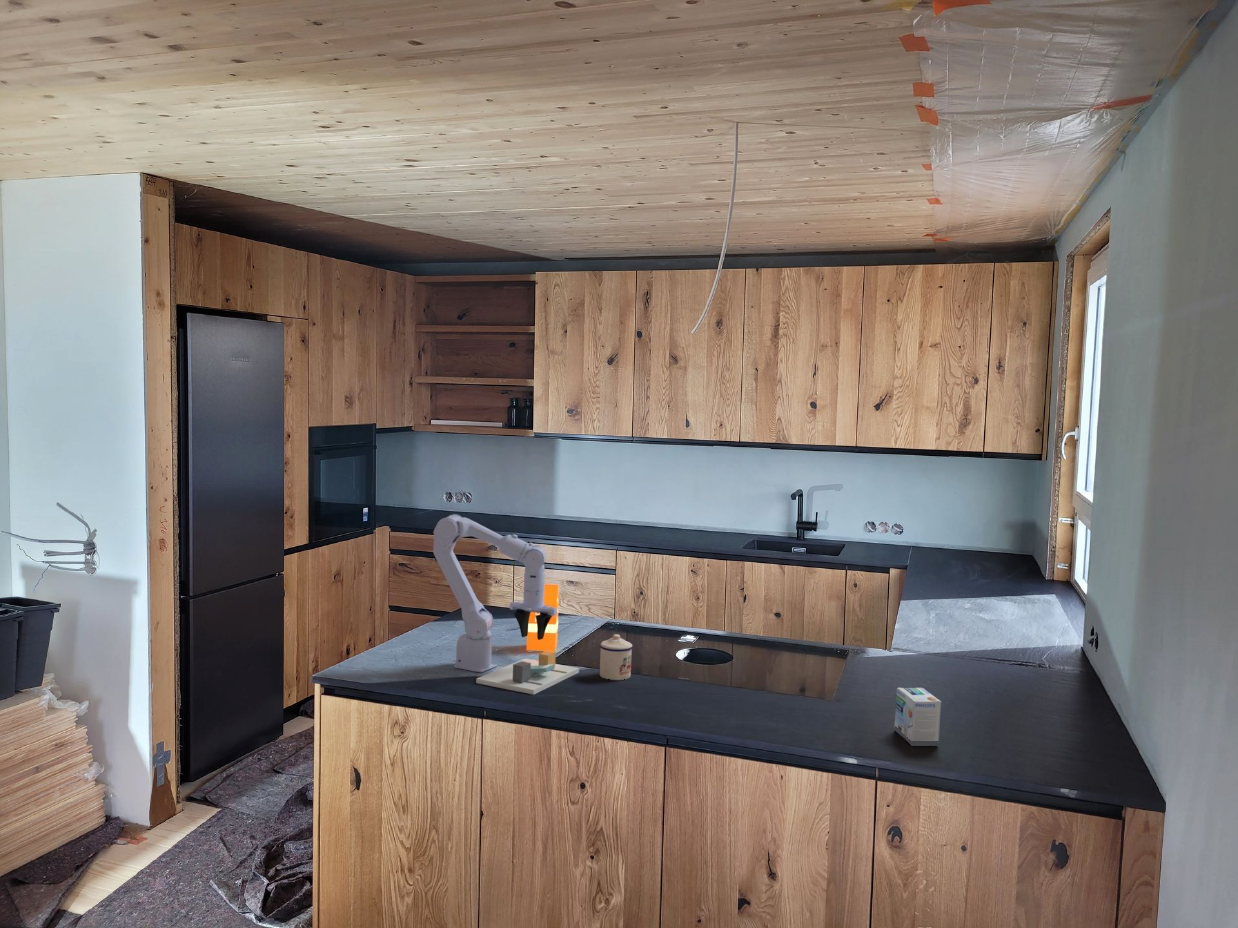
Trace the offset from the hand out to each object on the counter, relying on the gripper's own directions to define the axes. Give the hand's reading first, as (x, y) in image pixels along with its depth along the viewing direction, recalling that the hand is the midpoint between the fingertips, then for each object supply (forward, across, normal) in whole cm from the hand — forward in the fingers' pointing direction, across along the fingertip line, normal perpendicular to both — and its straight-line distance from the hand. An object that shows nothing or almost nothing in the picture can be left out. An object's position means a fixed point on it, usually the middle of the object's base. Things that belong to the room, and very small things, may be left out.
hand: (532, 637), depth 258 cm
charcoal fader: (+8, +5, -13) cm, 16 cm away
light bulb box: (+10, +104, +3) cm, 104 cm away
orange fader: (+8, +5, 0) cm, 9 cm away
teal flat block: (+6, +6, -6) cm, 11 cm away
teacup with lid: (+10, +22, +10) cm, 26 cm away
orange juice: (+10, -10, +22) cm, 26 cm away
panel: (+9, +3, -6) cm, 12 cm away
